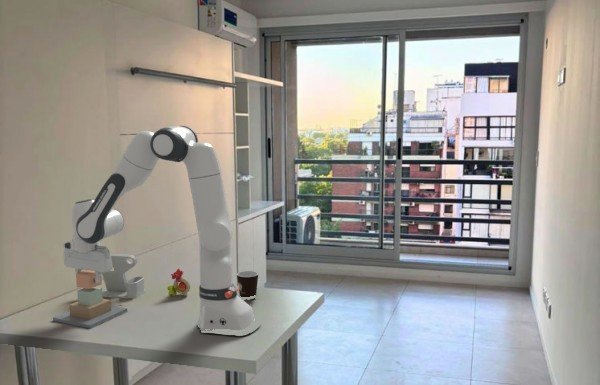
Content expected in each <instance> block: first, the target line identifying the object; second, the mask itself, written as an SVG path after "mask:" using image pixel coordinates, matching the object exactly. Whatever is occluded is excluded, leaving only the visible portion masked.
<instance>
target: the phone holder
mask: <svg viewBox="0 0 600 385" xmlns="http://www.w3.org/2000/svg"><path fill="white" fill-rule="evenodd" d="M110 255H111V260H112V269H113V270H111V271H108V272H105V273H104V272H102V274H101V276H102V278H103V281H104V284H105V288H106V289H105V290H102V292H103V298H114V299H115V298H116V299H133V300H135V299H137V298H138V297H140V296H142V295H143V294H145V293H146V289H145V277H143V276H134V277H132V278H130V279H129V280H127V276H126V272H128V271H129V270H131V269H132V268H134V267H135V266H136V265H137V263H138V260H137V257H136V256H135V255H133V254H127V253H110ZM128 259H131V261H132V262H131V261H129V260H128Z"/></svg>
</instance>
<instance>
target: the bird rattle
mask: <svg viewBox="0 0 600 385" xmlns="http://www.w3.org/2000/svg"><path fill="white" fill-rule="evenodd" d="M183 274H184V271H183V270H181V269H180V268H177V269H176V271H175V272H173V273H171V274H170V276H171V279H172V280H173V284H172V285H169V286H167V291H168V293H167V294H168V295H169V296H171V295H172V296H173V297H176V296H177V293H179V294H180V295H184V296H186V295H188V292H189V291H190V289H191V283H190V281H189V280H188V279H187V278H186V277H183Z"/></svg>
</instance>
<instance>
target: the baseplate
mask: <svg viewBox="0 0 600 385" xmlns="http://www.w3.org/2000/svg"><path fill="white" fill-rule="evenodd" d="M68 305H69V307H68V308H69V310H67V311H66V312H63V313H61V314H58V315H56V316H54V317H52V321H53V322H58V323H63V324H67V325H71V326H76V327H77V326H78V327H83V328H85V329H86V328H87V329H93V328H95V327H97V326H100V325H101V324H103V323H105V322H108V321H110V320H112V319H114V318H117V317H118V316H121V315H123V314H125V313H127V312H128V308H125V307H120V306H116V305H112V300H111V299H106V298H103V301H102V302H99V303H97V304H94V305H92V306H87V305H82V304H78V301H75V302H73V303H70V304H68Z"/></svg>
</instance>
